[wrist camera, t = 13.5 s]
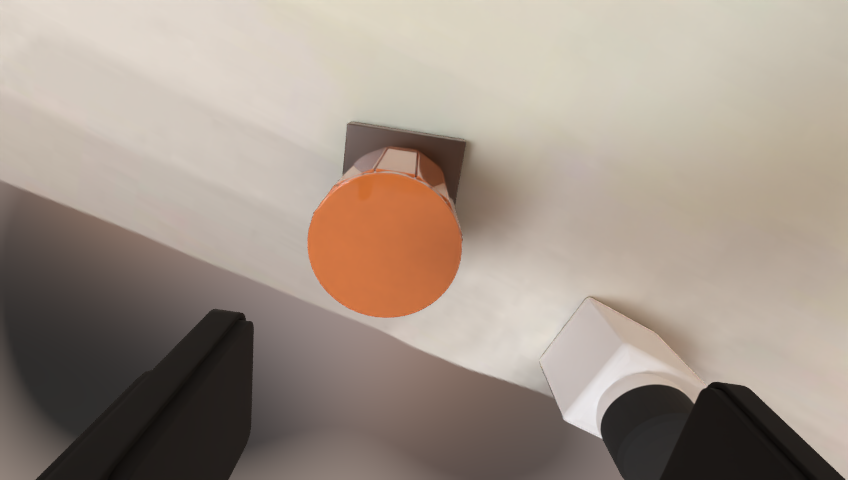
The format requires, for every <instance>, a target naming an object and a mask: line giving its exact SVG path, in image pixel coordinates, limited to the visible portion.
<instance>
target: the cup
mask: <svg viewBox="0 0 848 480" xmlns="http://www.w3.org/2000/svg"><path fill="white" fill-rule="evenodd" d="M313 214H314V215H313V216H312V220H311V223H310V227H309V232H308V254H309V259H310V263H311V266H312V269H313V271H314V273H315V275H316V277H317V279H318V280H319V282H320V284H321V285H322V286H323V287H324V289H325V290H326V291H327V292H328V293H329V294H330V295H331V296H332V297H333V298H334V299H335V300H337V301H338V302H339V303H341V304H342V305H344V306H346V307H347V308H349V309H351V310H354V311H356V312H358V313H361V314H365V315H368V316H374V317H383V318H389V317H400V316H405V315H409V314H412V313H415V312H417V311H420V310H422V309H424V308H426V307H427V306H429V305H431V304H432V303H433V302H435V301H436V300H437V299H438V298H439V297H440V296H441V295H442V294H443V293H444V292H445V291H446V290H447V289H448V287H449V286H450V285H451V283H452V281H453V280H454V278H455V276H456V273H457V271H458V268H459V264H460V261H461V253H462V240H463V238H462V232H461V228H460V224H459V221H458V217H457V213H456V210H455V206H454V202H453V199H452V195H451V192H450V190H449V187H448V184H447V182H446V179H445V176H444V174H443V171H442V170H441V168H440V167H438V166H437V165H436V164H435V163H434V162H432V161H431V160H430V159H429V158H427V157H426V156H425V155H424V154H422V153H421V152H420V151H419V152H418V153H417V150H413V149H407V148H400V147H394V146H389V148H388V147H387V146H386V147H384V148H381V149H379V150H376V151H374V152H371V153H369V154H366V155H364V156H362V157H361V158H359V159H358V160H357V161H356V162H355V164H354V165H353V166H352V167H351V168H350V169H349V170H348V171H347V172H346V173H345V174H344V175H343V176H342V177H341V179H340V180H339V181H338V182H337V183H336V184H335V185H334V186H333V188H332V189H331V190H330V192H329V193H328V194H327V196H326V197H325V198H324V199H323V201H322V202H321V203H320V205H319V206H318V208H317V209H316V210H315V212H314V213H313Z"/></svg>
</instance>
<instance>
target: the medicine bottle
mask: <svg viewBox="0 0 848 480" xmlns="http://www.w3.org/2000/svg"><path fill="white" fill-rule="evenodd" d="M539 362H540V365H541V368H542V370H543V372H544V375H545V377H546V379H547V382H548V384H549V386H550V389H551V391H552V393H553V396H554V398H555V400H556V403H557V405H558V407H559V410H560V412H561V414H562V417H563V419H564V420H565V421H567V422H568V423H570V424H572V425H575V426H577V427H579V428H581V429H583V430H585V431H587V432H589V433H591V434H593V435H595V436H597V437H599V438H601V439H603V441H604V443H605V445H606V447H607V448H608V451H609V453H610V455H611V456H612V458H613V460H614V462H615V464H616V466H617V468H618V470H619V472H620V474H621V475H622V477H623V478H624V480H660V478H661V475H662V473H663V471H664V469H665V467H666V465H667V462H668V460H669V458H670V456H671V454H672V451H673V449H674V447H675V445H676V443H677V441H678V438H679V436H680V434H681V432H682V430H683V428H684V425H685V423H686V421H687V419H688V417H689V415H690V412H691V410H692V408H693V406H694V403H695V402H696V399H697V397H698V395H699V393H700V392H701V390H702V389H704V388H707V387H706V385H705V384H704V383H703V382H702V381H701V379H700V378H699V377H698V376H697V375H696V374H695V373H694V372H693V371H692V370H691V369H690V368H689V367H688V366H687V365H686V364H685V363H684V362H683V361H682V360H681V359H680V358H679V357H678V355H677V354H676V353H675V352H674V351H673V350H672V349H671V348H670V347H669V346H668V345H667V344H666V343H665V342H664V341H663V340H662V339H661V338H660V337H659V336H658V335H657V334H656V333H655V332H653V331H652V330H650V329H648V328H646V327H644V326H642V325H641V324H639V323H637V322H635V321H633V320H632V319H630V318H628V317H626V316H624V315H622V314H621V313H619V312H617V311H615V310H613V309H611V308H610V307H608V306H606V305H604V304H602V303H600V302H599V301H597V300H595V299H593V298H591V297H588V298H586V299H585V300H584V302H583V303H582V304H581V306H580V307H579V308H578V310H577V311H576V312H575V313H574V315H573V316H572V317H571V319H570V320H569V321H568V323H567V324H566V325H565V327H564V328H563V329H562V330H561V332H560V333H559V334H558V336H557V337H556V338H555V340H554V341H553V342H552V343H551V345H550V346H549V347H548V349H547V350H546V351H545V353H544V354H543V355H542V357H541V358H540V360H539Z"/></svg>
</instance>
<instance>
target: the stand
mask: <svg viewBox="0 0 848 480" xmlns="http://www.w3.org/2000/svg"><path fill="white" fill-rule="evenodd" d="M386 146H387V147H388V148H389V146H394V147H400V148H407V149H413V150H417V153H418V152H419V151H420V152H421V153H422V154H424V155H425V156H426V157H427V158H429V159H430V160H431V161H432V162H434V163H435V164H436V165H437V166H438V167H440V168H441V170H442V171H443V174H444V176H445V179H446V182H447V184H448V187H449V190H450V192H451V195H452V199H453V202H454V206H455V200H456V195H457V189H458V184H459V178H460V173H461V168H462V162H463V157H464V151H465V146H466V142H465V140H463V139H458V138H452V137H445V136H439V135H433V134H427V133H420V132H414V131H408V130H401V129H395V128H389V127H382V126H376V125H370V124H363V123H357V122H350V123H348V124H347V132H346V143H345V154H344V165H343V175H344V174H345V173H346V172H347V171H348V170H349V169H350V168H351V167H352V166H353V165H354V164H355V162H356V161H357V160H358V159H359V158H361V157H362V156H364V155H366V154H369V153H371V152H374V151H376V150H379V149H381V148H384V147H386Z"/></svg>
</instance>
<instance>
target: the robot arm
mask: <svg viewBox="0 0 848 480" xmlns="http://www.w3.org/2000/svg"><path fill="white" fill-rule="evenodd" d="M253 334H254V327H253V323H252V322H251V321H246V318H245V315H244V314H243V313H240V312H233V311H226V310H218V309H213V310H211V311H210V312H209V313H208V314H207V315H206V316H205V317H204V318H203V319H202V320H201V321H200V322H199V323H198V324H197V325H196V326H195V327H194V328H193V329H192V330H191V331H190V332H189V333H188V334H187V336H185V337H184V338H183V339H182V340H181V341H180V342H179V343H178V344H177V345H176V346H175V348H174V349H173V350H172V351H171V352H170V353H169V354H168V355H167V356H166V357H165V358H164V359H163V360H162V361H161V362H160V363H159V364H158V365H157V366H156V367H155V368H154V369H153V370H150V371H147V372H145V373H144V374H142V375H141V376H140V377H139V378H137V379H136V380H135V381H134V382H133V384H132V385H130V386H129V388H127V389H126V390H125V391H124V392H123V393H122V394H121V395H120V396H119V397H118V398H117V399H116V400H115V401H114V402H113V403H112V404H111V405H110V406H109V407H108V408H107V409H106V410H105V411H104V412H103V413H102V414H101V415H100V416H99V417H98V418H97V419H96V420H95V421H94V422H93V423H92V424H91V425H90V426H89V427H88V428H87V429H86V430H85V431H84V432H83V433H82V434H81V435H80V436H79V437H78V438H77V439H76V440H75V441H74V442H73V443H72V444H71V445H70V446H69V447H68V448H67V449H66V450H65V451H64V452H63V453H62V454H61V455H60V456H59V457H58V458H57V459H56V460H55V461H54V462H53V463H52V464H51V465H50V466H49V467H48V468H47V469H46V470H45V471H44V472H43V473H42V474H41V475H40V476H39V477H38V478H37V479H36V480H228V479H229V477H230V475H231V474H232V472H233V470H234V468H235V466H236V464H237V462H238V460H239V458H240V456H241V454H242V452H243V450H244V448H245V446H246V444H247V441H248V438H249V435H250V430H251V409H252V408H251V407H252V371H253V369H252V368H253ZM660 480H845V479H844V478H843V477H842V476H841V475H840V474H839V473H838V472H837V471H836V470H835V469H834V468H833V467H832V466H831V465H830V464H828V463H827V462H826V461H825V460H824V459H823V458H822V457H821V456H820V455H819V454H818V453H817V452H816V451H815V450H814V449H813V448H812V447H811V446H810V445H808V444H807V443H806V442H805V441H804V440H803V439H802V438H801V437H800V436H799V435H798V434H797V433H796V432H795V431H794V430H793V429H792V428H791V427H789V426H788V425H787V424H786V423H785V422H784V421H783V420H782V419H781V418H780V417H779V416H778V415H777V414H776V413H775V412H774V411H773V410H772V409H771V408H769V407H768V406H767V405H766V404H765V403H764V402H763V401H762V400H761V399H760V398H759V397H758V396H757V395H756V394H755V393H754V392H753V391H752V390H750V389H749V388H747V387H745V386H742V385H735V384H728V383H721V382H713V383H711V384H710V385H708V387H707V388H704V389H702V390H701V392H700V393H699V395H698V397H697V399H696V402H695V404H694V406H693V408H692V410H691V412H690V415H689V417H688V419H687V421H686V423H685V425H684V428H683V430H682V432H681V434H680V436H679V438H678V441H677V443H676V445H675V447H674V449H673V451H672V454H671V456H670V458H669V460H668V462H667V465H666V467H665V469H664V471H663V473H662V475H661V478H660Z"/></svg>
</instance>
